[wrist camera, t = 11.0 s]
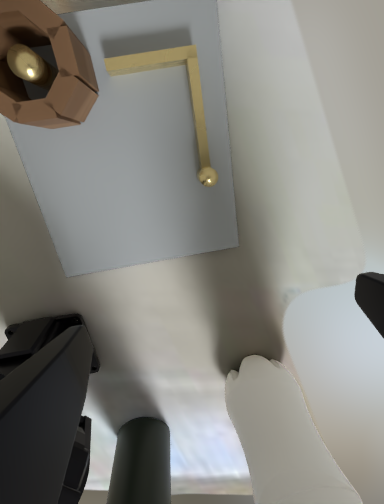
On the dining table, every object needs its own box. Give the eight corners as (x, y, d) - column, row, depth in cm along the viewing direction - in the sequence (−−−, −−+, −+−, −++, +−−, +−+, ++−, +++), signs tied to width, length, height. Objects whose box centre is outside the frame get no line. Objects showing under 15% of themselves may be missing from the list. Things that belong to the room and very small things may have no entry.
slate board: (236, 243, 22) (238, 246, 21) (69, 273, 21) (66, 277, 21) (213, -2, 16) (216, -10, 15) (-20, 33, 15) (-30, 27, 15)
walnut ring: (106, 120, 17) (89, 112, 13) (25, 133, 17) (-15, 128, 13) (82, 20, 15) (54, -23, 11) (-10, 33, 15) (-69, -6, 11)
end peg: (67, 91, 16) (42, 76, 13) (44, 94, 16) (14, 80, 13) (59, 64, 16) (31, 42, 12) (36, 67, 15) (1, 46, 12)
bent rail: (214, 181, 19) (219, 185, 17) (138, 194, 19) (135, 199, 17) (198, 51, 16) (202, 38, 14) (108, 64, 16) (100, 53, 14)
